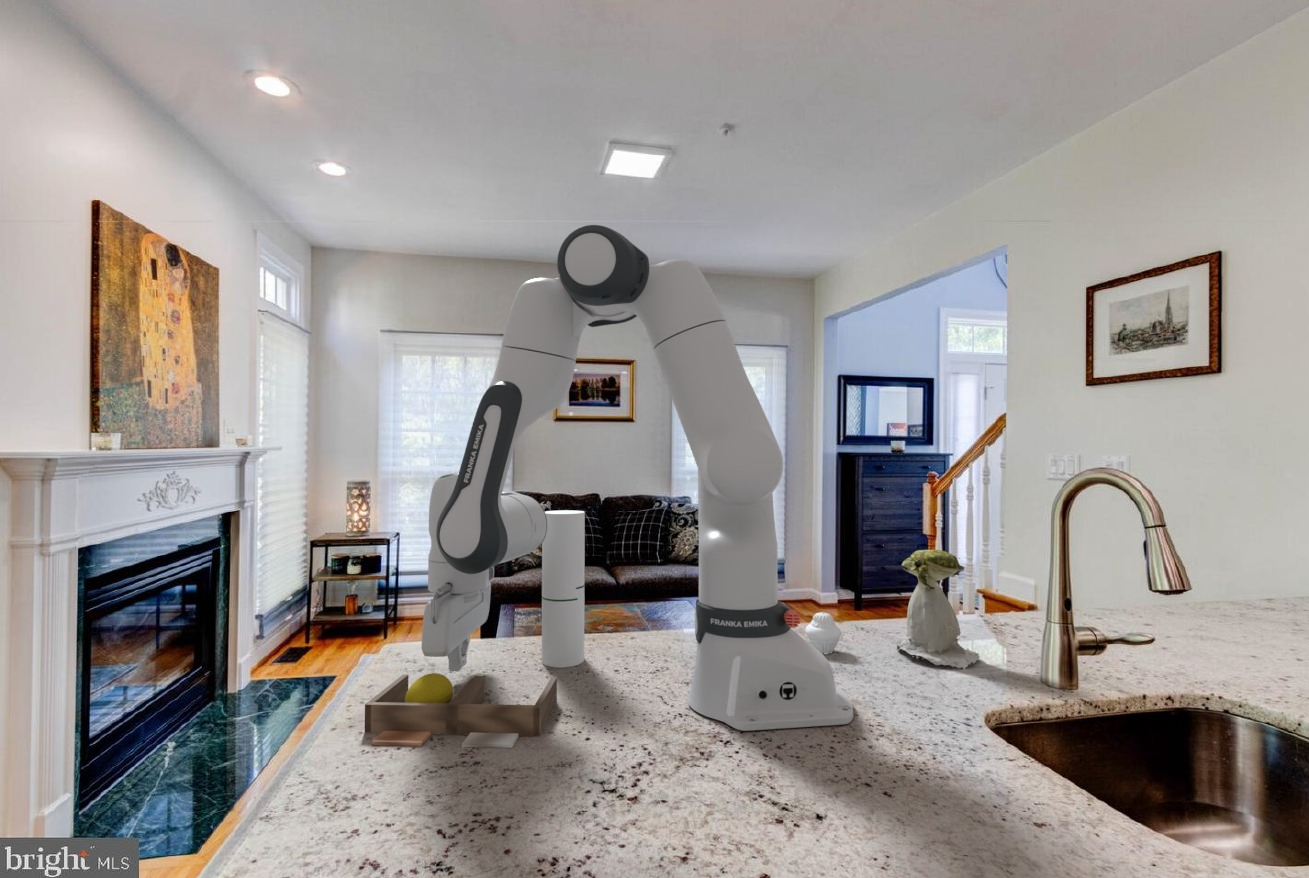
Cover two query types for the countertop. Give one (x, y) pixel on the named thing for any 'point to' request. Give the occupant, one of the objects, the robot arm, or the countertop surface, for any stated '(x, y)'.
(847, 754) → the countertop surface
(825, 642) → the muffin
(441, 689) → the lemon
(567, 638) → the cylindrical container
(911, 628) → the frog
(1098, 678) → the countertop surface
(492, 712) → the bay rack
